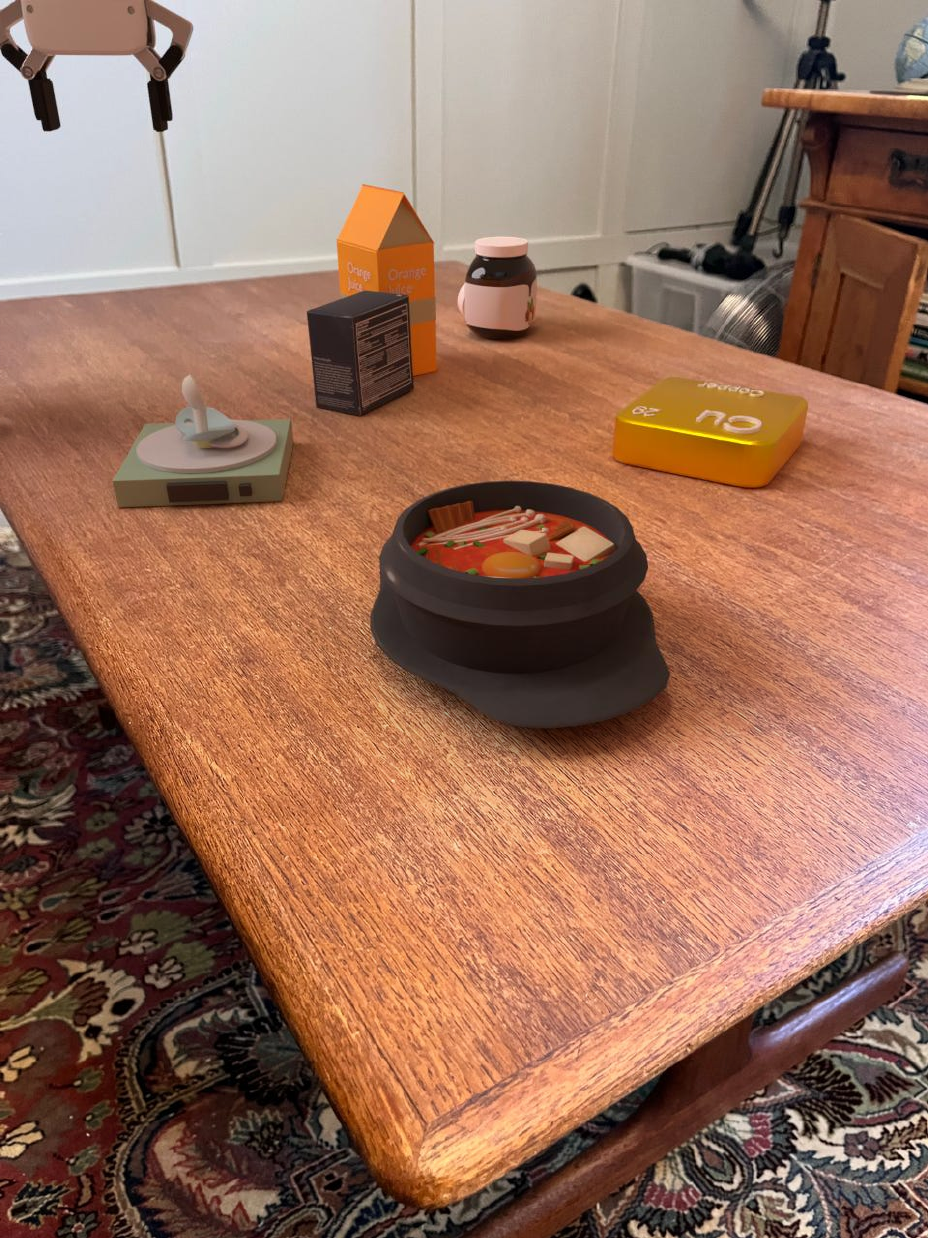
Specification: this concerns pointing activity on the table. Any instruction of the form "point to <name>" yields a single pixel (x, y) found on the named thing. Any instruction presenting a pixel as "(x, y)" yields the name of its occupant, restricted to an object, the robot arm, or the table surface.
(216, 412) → the pacifier
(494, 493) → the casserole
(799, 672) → the table surface
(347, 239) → the orange juice
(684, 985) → the table surface
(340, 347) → the small box
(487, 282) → the spread jar
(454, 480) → the table surface
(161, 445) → the scale
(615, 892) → the table surface
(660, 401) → the element tile
